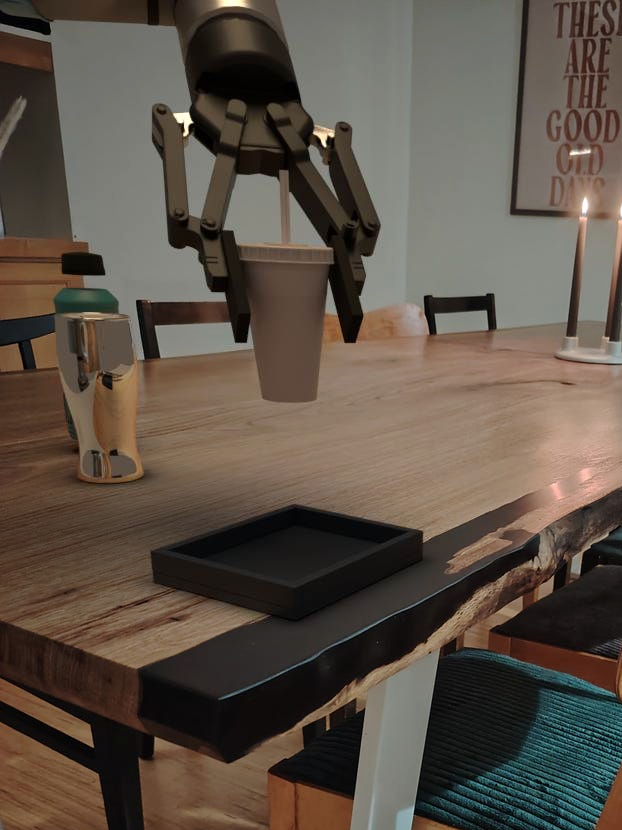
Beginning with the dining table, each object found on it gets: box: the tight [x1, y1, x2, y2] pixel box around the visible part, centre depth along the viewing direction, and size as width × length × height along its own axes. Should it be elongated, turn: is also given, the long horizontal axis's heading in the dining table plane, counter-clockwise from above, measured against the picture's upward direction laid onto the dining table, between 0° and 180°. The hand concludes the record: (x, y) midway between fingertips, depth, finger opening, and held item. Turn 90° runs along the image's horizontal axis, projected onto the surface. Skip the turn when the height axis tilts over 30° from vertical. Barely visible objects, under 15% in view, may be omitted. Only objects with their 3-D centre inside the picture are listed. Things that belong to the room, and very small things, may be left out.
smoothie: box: [236, 170, 335, 404], centre depth 61 cm, size 6×6×14 cm
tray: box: [150, 503, 424, 622], centre depth 68 cm, size 16×13×2 cm
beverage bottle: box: [52, 251, 120, 441], centre depth 97 cm, size 6×7×20 cm
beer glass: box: [53, 312, 145, 484], centre depth 88 cm, size 7×7×15 cm
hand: (299, 328), depth 59 cm, fingers closed on smoothie, 6 cm apart
